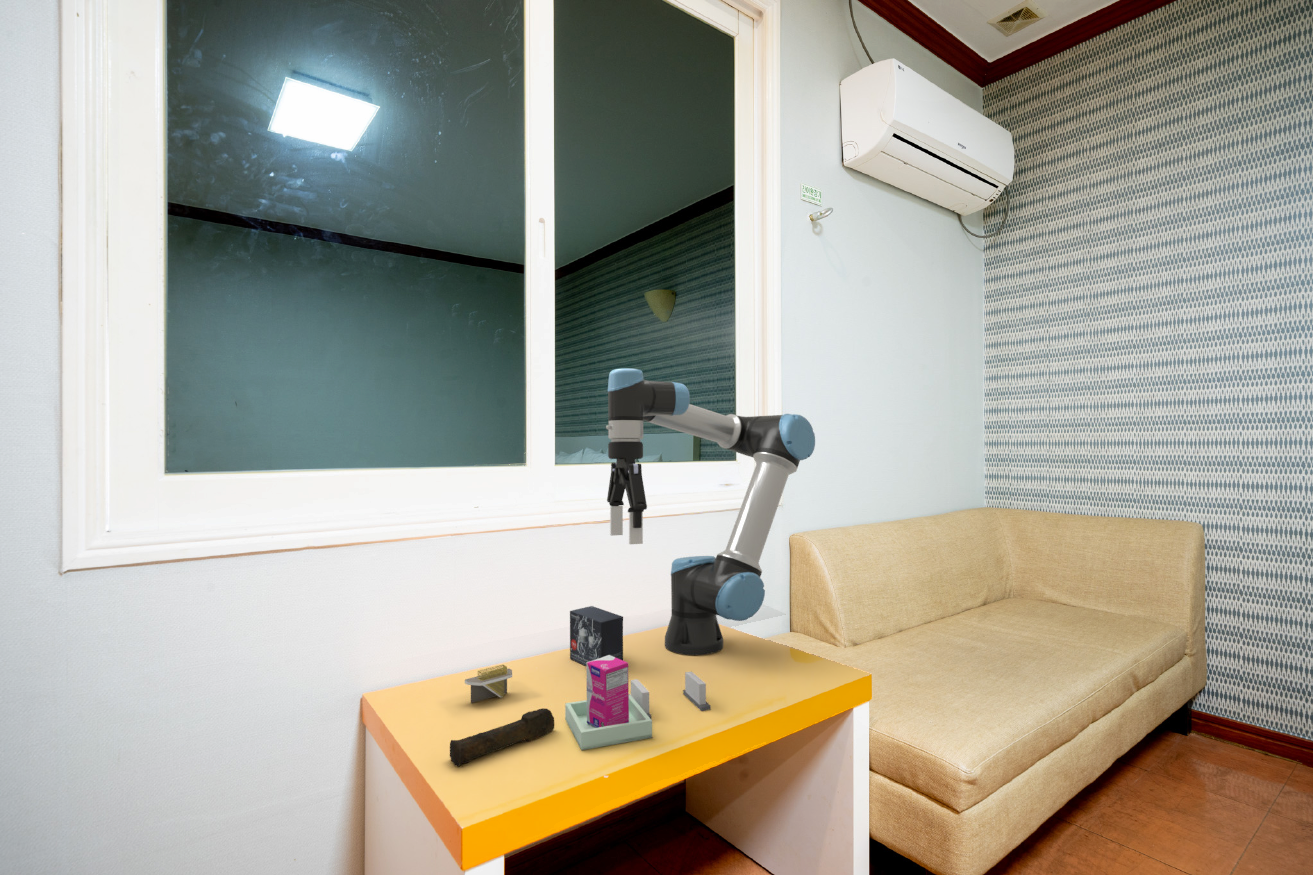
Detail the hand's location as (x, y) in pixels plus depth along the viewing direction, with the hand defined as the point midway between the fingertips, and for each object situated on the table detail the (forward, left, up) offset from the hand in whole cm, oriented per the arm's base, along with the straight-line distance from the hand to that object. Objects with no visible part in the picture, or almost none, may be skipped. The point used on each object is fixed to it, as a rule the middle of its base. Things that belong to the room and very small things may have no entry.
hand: (625, 539), depth 132 cm
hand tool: (+27, +17, -32) cm, 45 cm away
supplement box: (+9, +17, -31) cm, 37 cm away
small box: (+2, -17, -32) cm, 36 cm away
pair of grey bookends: (-5, +12, -32) cm, 34 cm away
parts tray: (+9, +17, -32) cm, 37 cm away
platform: (+28, -4, -32) cm, 43 cm away
